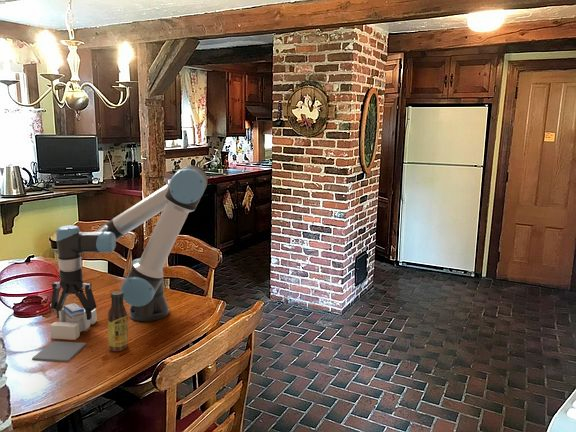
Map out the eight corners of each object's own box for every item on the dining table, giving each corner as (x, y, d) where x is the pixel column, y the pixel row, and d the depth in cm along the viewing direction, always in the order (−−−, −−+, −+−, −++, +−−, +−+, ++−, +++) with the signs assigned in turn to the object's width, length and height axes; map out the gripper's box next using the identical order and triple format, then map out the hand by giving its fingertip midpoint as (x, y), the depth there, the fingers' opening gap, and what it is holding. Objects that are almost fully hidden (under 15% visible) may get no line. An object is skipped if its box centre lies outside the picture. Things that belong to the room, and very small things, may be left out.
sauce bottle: (116, 354, 157) (113, 297, 153) (104, 349, 160) (101, 293, 156) (132, 346, 163) (130, 292, 159) (120, 341, 166) (117, 288, 162)
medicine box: (64, 327, 176) (62, 305, 174) (76, 324, 179) (75, 302, 177) (73, 334, 170) (72, 311, 169) (86, 330, 174) (84, 308, 172)
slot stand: (96, 321, 182) (96, 308, 181) (75, 339, 167) (74, 326, 166) (74, 319, 183) (73, 307, 182) (51, 338, 167) (49, 325, 166)
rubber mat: (86, 344, 163) (86, 343, 163) (68, 361, 151) (67, 360, 151) (53, 342, 164) (52, 341, 164) (32, 359, 152) (32, 358, 152)
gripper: (104, 266, 173) (107, 323, 177) (47, 264, 174) (53, 321, 179) (94, 272, 166) (98, 332, 170) (35, 270, 167) (41, 329, 172)
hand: (75, 326), depth 174 cm, fingers closed on medicine box, 9 cm apart
